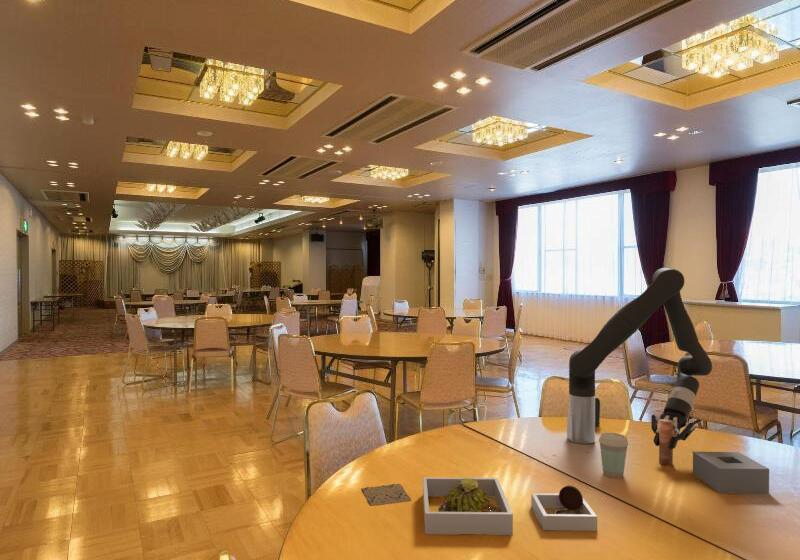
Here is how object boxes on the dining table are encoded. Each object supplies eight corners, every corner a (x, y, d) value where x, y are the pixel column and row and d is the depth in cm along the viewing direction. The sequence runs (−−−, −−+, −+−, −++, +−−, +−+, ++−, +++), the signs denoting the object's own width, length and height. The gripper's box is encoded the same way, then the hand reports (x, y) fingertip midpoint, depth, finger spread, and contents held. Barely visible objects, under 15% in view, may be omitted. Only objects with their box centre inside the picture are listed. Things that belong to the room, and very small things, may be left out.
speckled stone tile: (369, 508, 141) (369, 505, 141) (360, 490, 152) (360, 486, 152) (412, 502, 144) (412, 499, 144) (400, 485, 156) (400, 482, 156)
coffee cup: (631, 481, 158) (631, 441, 158) (601, 478, 160) (601, 439, 159) (624, 470, 166) (625, 432, 166) (596, 468, 168) (596, 431, 168)
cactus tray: (425, 534, 126) (425, 513, 126) (422, 494, 148) (422, 477, 148) (512, 535, 126) (512, 514, 126) (497, 495, 148) (497, 477, 148)
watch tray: (543, 530, 128) (543, 516, 128) (531, 506, 141) (531, 493, 141) (597, 530, 128) (597, 516, 128) (579, 506, 141) (580, 493, 141)
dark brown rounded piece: (548, 520, 133) (549, 491, 133) (560, 509, 140) (560, 482, 139) (580, 529, 128) (580, 500, 128) (590, 518, 135) (591, 489, 135)
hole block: (719, 492, 149) (719, 468, 149) (692, 473, 163) (692, 451, 163) (768, 493, 149) (769, 468, 149) (738, 474, 163) (738, 451, 163)
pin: (662, 465, 170) (662, 422, 170) (656, 461, 174) (657, 419, 174) (675, 465, 170) (675, 422, 170) (668, 461, 174) (669, 419, 174)
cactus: (482, 539, 124) (482, 498, 124) (425, 521, 133) (425, 482, 133) (512, 512, 138) (512, 475, 138) (458, 497, 147) (458, 462, 147)
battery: (594, 422, 218) (594, 395, 218) (600, 425, 215) (600, 397, 215) (580, 424, 216) (580, 396, 216) (585, 426, 213) (585, 398, 213)
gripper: (655, 393, 182) (637, 434, 175) (699, 401, 171) (682, 445, 164) (662, 405, 186) (645, 447, 178) (705, 414, 175) (689, 458, 167)
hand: (663, 446), depth 171 cm, fingers closed on pin, 4 cm apart
